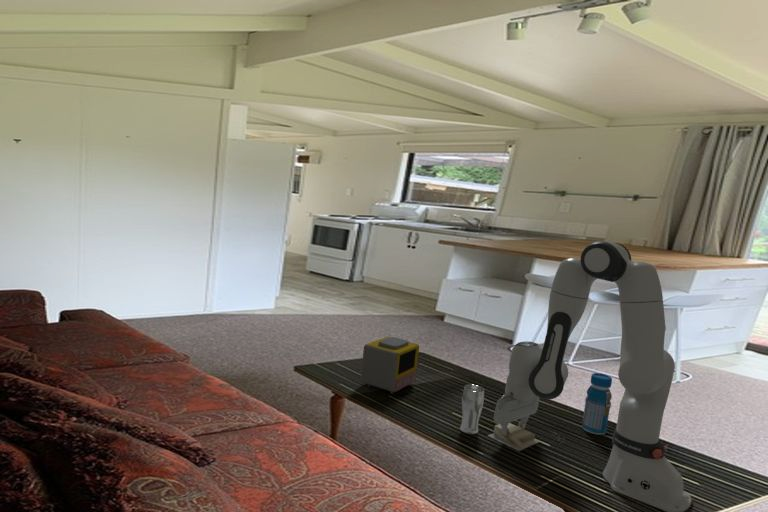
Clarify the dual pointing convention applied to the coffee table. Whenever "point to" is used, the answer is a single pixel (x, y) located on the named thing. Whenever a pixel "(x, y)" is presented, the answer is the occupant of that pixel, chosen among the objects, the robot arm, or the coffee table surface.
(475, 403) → the beer glass
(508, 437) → the birch lid
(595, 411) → the beverage bottle
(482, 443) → the coffee table surface
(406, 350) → the alarm clock
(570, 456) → the coffee table surface
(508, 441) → the grey mat
